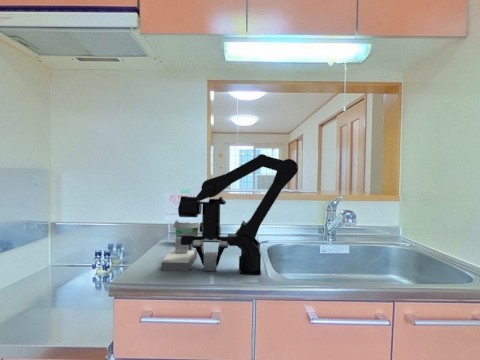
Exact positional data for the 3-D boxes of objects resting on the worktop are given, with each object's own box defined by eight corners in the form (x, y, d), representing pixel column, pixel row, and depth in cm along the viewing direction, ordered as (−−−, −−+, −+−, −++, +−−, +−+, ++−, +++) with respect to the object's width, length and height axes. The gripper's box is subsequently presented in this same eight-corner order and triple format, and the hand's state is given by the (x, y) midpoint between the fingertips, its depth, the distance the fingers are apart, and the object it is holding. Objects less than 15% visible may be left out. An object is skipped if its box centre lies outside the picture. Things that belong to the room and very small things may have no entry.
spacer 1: (188, 250, 117) (188, 237, 116) (186, 253, 113) (187, 239, 112) (177, 250, 117) (177, 236, 116) (175, 253, 113) (175, 239, 112)
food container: (167, 244, 140) (167, 221, 139) (176, 242, 145) (176, 220, 145) (190, 248, 134) (191, 224, 134) (199, 245, 139) (199, 222, 139)
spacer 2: (217, 267, 107) (217, 252, 107) (216, 270, 103) (216, 255, 103) (204, 267, 107) (205, 252, 107) (203, 270, 103) (203, 255, 103)
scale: (197, 256, 121) (197, 234, 121) (189, 270, 104) (190, 244, 104) (172, 256, 121) (173, 233, 121) (161, 270, 104) (161, 243, 104)
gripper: (240, 215, 113) (239, 259, 113) (186, 214, 113) (186, 258, 114) (239, 219, 102) (239, 269, 102) (180, 218, 102) (179, 268, 102)
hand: (210, 265), depth 105 cm, fingers closed on spacer 2, 4 cm apart
